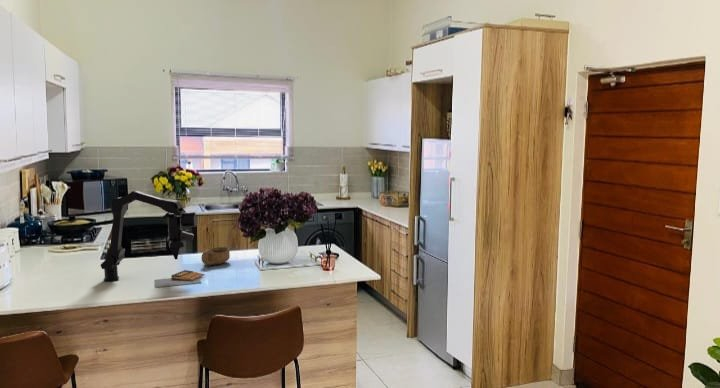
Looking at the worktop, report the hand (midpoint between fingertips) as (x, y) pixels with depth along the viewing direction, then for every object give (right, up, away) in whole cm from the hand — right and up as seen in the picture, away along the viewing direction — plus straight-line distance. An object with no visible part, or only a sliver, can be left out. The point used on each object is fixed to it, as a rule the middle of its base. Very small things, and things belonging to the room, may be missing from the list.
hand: (176, 259), depth 263 cm
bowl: (+11, -7, +30) cm, 33 cm away
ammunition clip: (0, -8, +4) cm, 9 cm away
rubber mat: (+2, -10, -4) cm, 11 cm away
